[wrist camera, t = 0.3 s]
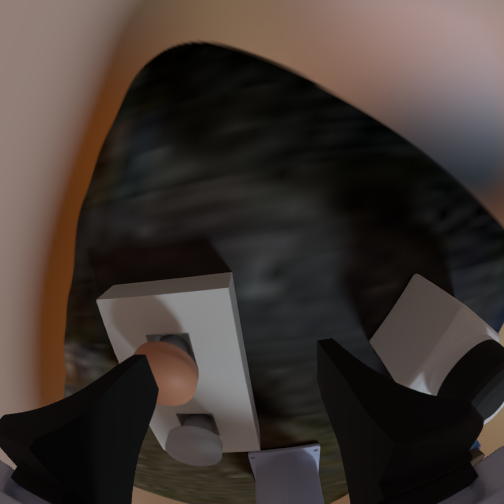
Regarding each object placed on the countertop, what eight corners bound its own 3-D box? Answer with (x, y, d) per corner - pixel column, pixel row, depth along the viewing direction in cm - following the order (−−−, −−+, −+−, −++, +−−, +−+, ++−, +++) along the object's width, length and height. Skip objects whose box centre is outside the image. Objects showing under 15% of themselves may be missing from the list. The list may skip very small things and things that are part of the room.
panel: (259, 428, 24) (260, 450, 21) (169, 429, 24) (163, 450, 21) (231, 271, 20) (228, 287, 17) (113, 284, 20) (96, 299, 17)
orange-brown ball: (210, 371, 19) (203, 406, 16) (155, 372, 19) (140, 404, 16) (197, 319, 18) (185, 350, 14) (137, 323, 18) (116, 351, 15)
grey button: (229, 434, 21) (226, 466, 18) (182, 434, 21) (175, 464, 18) (219, 402, 20) (214, 437, 16) (167, 403, 20) (157, 435, 17)
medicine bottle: (366, 341, 21) (429, 445, 10) (413, 270, 20) (515, 342, 8) (414, 363, 22) (475, 446, 11) (456, 303, 21) (538, 367, 9)
